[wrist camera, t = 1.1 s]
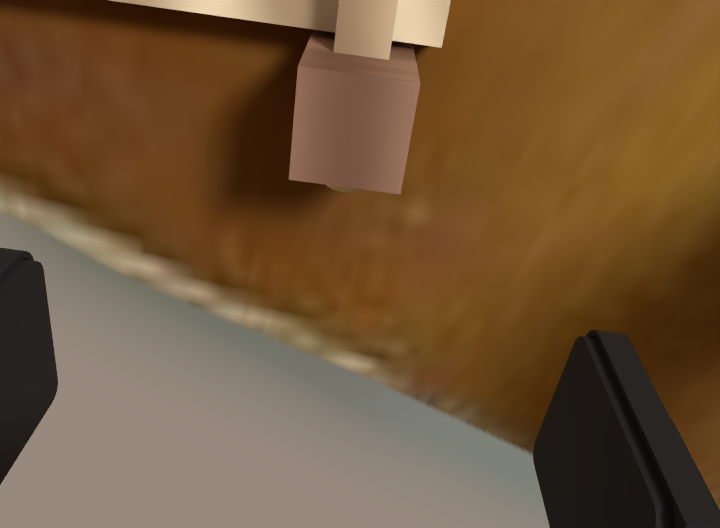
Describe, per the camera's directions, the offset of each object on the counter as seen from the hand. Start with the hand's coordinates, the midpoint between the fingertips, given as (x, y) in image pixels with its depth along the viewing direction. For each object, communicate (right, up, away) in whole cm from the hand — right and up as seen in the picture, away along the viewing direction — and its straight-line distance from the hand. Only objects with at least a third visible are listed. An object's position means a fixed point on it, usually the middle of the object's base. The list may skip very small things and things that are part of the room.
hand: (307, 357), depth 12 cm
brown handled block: (+1, +13, +13) cm, 19 cm away
